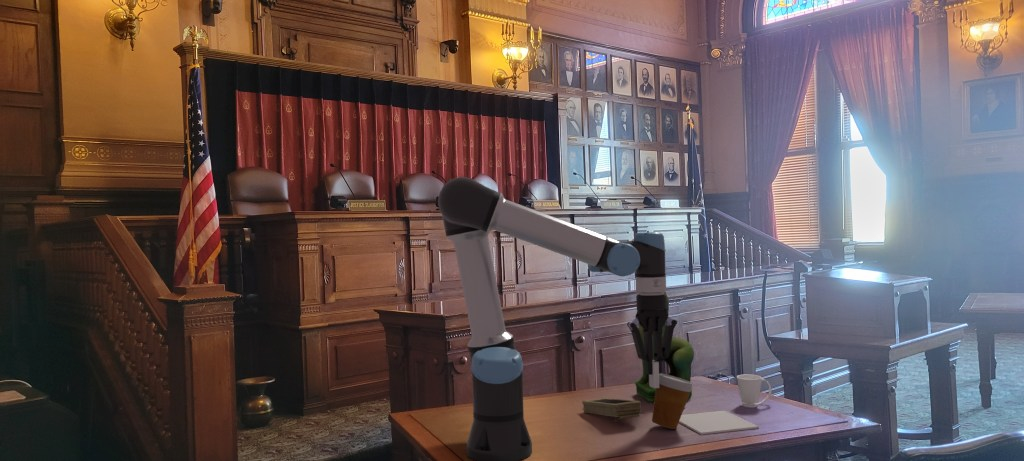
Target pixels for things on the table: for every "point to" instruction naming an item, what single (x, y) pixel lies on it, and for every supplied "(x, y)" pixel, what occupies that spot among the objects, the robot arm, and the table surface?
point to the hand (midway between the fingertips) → (654, 386)
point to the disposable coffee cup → (670, 400)
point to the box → (613, 407)
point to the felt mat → (715, 422)
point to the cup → (751, 389)
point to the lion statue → (676, 361)
